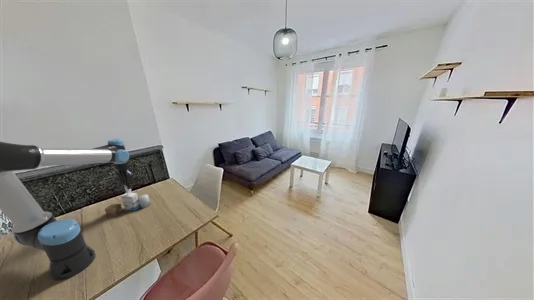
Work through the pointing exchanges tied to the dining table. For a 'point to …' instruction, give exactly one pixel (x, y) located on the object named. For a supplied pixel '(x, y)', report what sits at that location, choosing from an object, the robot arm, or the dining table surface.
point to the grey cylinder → (144, 201)
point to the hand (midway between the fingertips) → (129, 192)
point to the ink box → (130, 201)
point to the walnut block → (113, 210)
